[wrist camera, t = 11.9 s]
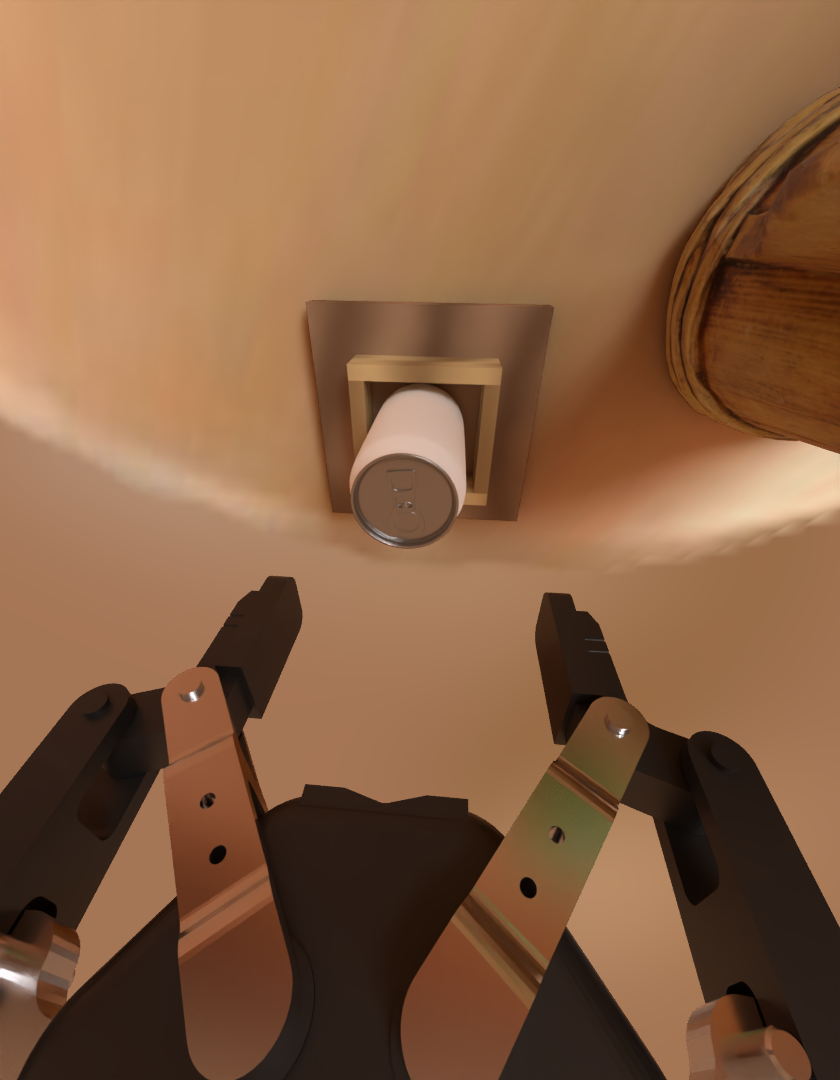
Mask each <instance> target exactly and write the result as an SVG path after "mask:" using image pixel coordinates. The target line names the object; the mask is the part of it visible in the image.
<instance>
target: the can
mask: <svg viewBox="0 0 840 1080" xmlns="http://www.w3.org/2000/svg"><path fill="white" fill-rule="evenodd" d="M350 494H351V507H352V511H353V514H354V516H355V518H356V520H357V522H358V523H359V525H360V526H361V527H362V528H363V530H364V531H365V532H366V533H367V534H369V535H370V536H371V537H373V538H374V539H376V540H377V541H379V542H381V543H383V544H386V545H389V546H392V547H396V548H404V549H412V548H420V547H424V546H427V545H430V544H432V543H434V542H436V541H438V540H439V539H441V538H442V537H443V536H444V535H445V534H446V533H447V532H448V531H449V530H450V529H451V527H452V526H453V524H454V522H455V520H456V517H457V516H458V514H459V513H460V511H461V509H462V506H463V503H464V500H465V495H466V461H465V437H464V423H463V417H462V414H461V411H460V409H459V407H458V405H457V403H456V402H455V400H454V399H453V398H452V397H451V396H450V395H449V394H448V393H447V392H445V391H444V390H442V389H440V388H438V387H436V386H433V385H430V384H423V383H417V384H410V385H406V386H404V387H401V388H399V389H398V390H396V391H395V392H393V393H392V394H391V395H390V396H389V397H388V398H387V399H386V401H385V402H384V404H383V405H382V407H381V409H380V411H379V413H378V415H377V417H376V419H375V421H374V423H373V425H372V427H371V429H370V431H369V433H368V435H367V437H366V439H365V441H364V443H363V445H362V447H361V449H360V451H359V453H358V455H357V457H356V459H355V462H354V464H353V467H352V470H351V474H350Z"/></svg>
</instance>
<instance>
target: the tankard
mask: <svg viewBox="0 0 840 1080" xmlns="http://www.w3.org/2000/svg"><path fill="white" fill-rule="evenodd" d="M666 358H667V363H668V367H669V372H670V376H671V379H672V380H673V382H674V384H675V386H676V388H677V389H678V391H679V393H680V394H681V395H682V396H683V397H684V398H685V400H686V401H687V402H688V403H689V404H690V405H691V406H692V408H693V409H695V410H696V411H697V412H698V413H700V414H703V415H706V416H709V417H710V418H711V419H713V420H714V421H715V422H717V423H720V424H723V425H725V426H728V427H731V428H734V429H736V430H738V431H741V432H744V433H748V434H752V435H755V436H759V437H763V438H769V439H775V440H787V441H802V442H805V443H808V444H811V445H814V446H817V447H820V448H823V449H826V450H829V451H833V452H836V453H839V454H840V87H839V88H837V89H835V90H833V91H831V92H829V93H827V94H825V95H823V96H821V97H819V98H818V99H817V100H815V101H814V102H812V103H811V104H809V105H808V106H806V107H805V108H804V109H802V110H801V111H799V112H798V113H796V114H795V115H794V116H792V117H791V118H790V119H789V120H788V121H786V122H785V123H784V124H783V125H782V126H780V127H779V128H778V129H777V130H776V131H774V132H773V133H772V134H771V135H770V136H769V137H768V138H767V139H766V140H765V141H764V142H763V143H762V144H761V145H760V146H759V148H758V149H757V150H756V151H755V152H754V153H753V154H752V155H751V156H750V157H749V159H748V160H747V161H746V162H745V163H744V164H743V165H742V166H741V168H740V169H739V170H738V171H737V172H736V173H735V174H734V175H733V177H732V178H731V179H730V181H729V182H728V184H727V186H726V187H725V189H724V190H723V192H722V193H721V195H720V196H719V197H718V198H717V199H716V201H715V202H714V203H713V204H712V205H711V206H710V207H709V209H708V210H707V212H706V213H705V215H704V217H703V218H702V220H701V221H700V223H699V224H698V226H697V227H696V229H695V230H694V232H693V234H692V235H691V237H690V238H689V240H688V242H687V244H686V246H685V248H684V251H683V253H682V255H681V258H680V260H679V263H678V266H677V269H676V272H675V275H674V278H673V282H672V287H671V293H670V298H669V303H668V309H667V325H666Z"/></svg>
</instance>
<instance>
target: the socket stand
mask: <svg viewBox="0 0 840 1080" xmlns="http://www.w3.org/2000/svg"><path fill="white" fill-rule="evenodd" d="M306 308H307V316H308V324H309V332H310V339H311V347H312V355H313V363H314V371H315V378H316V386H317V394H318V402H319V410H320V417H321V425H322V433H323V441H324V449H325V456H326V464H327V472H328V480H329V488H330V495H331V503H332V511H333V512H338V513H353V511H352V507H351V494H350V474H351V470H352V467H353V464H354V462H355V459H356V457H357V455H358V453H359V451H360V449H361V447H362V445H363V443H364V441H365V439H366V437H367V435H368V433H369V431H370V429H371V427H372V425H373V423H374V421H375V419H376V417H377V415H378V413H379V411H380V409H381V407H382V405H383V404H384V402H385V401H386V399H387V398H388V397H389V396H390V395H391V394H392V393H393V392H395V391H396V390H398V389H399V388H401V387H404V386H406V385H410V384H417V383H423V384H430V385H433V386H436V387H438V388H440V389H442V390H444V391H445V392H447V393H448V394H449V395H450V396H451V397H452V398H453V399H454V400H455V402H456V403H457V405H458V407H459V409H460V411H461V414H462V417H463V423H464V437H465V461H466V495H465V500H464V503H463V506H462V509H461V511H460V513H459V514H458V516H457V517H456V518H461V519H481V520H502V521H517V516H518V510H519V505H520V499H521V493H522V487H523V482H524V476H525V470H526V464H527V458H528V453H529V447H530V441H531V435H532V430H533V424H534V418H535V412H536V407H537V401H538V395H539V389H540V384H541V378H542V372H543V366H544V361H545V355H546V349H547V343H548V338H549V332H550V326H551V320H552V314H553V309H554V307H552V306H550V305H518V304H470V303H422V302H373V301H325V300H312V301H308V302H306Z"/></svg>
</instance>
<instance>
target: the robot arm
mask: <svg viewBox="0 0 840 1080" xmlns="http://www.w3.org/2000/svg"><path fill="white" fill-rule="evenodd" d="M301 623H302V608H301V604H300V599H299V595H298V591H297V586H296V582H295V580H294V578H293V577H282V576H269V577H268V578H267V579H266V581H265V582H264V584H263V586H262V587H261V589H260V590H259V591H251V592H250V593H248V594H247V595H246V596H245V597H243V598H242V599H241V600H240V601H239V602H238V603H237V605H236V606H235V608H234V609H233V611H232V612H231V614H230V617H228V619H227V620H226V622H225V623H224V627H222V628H221V630H220V631H219V632H218V634H217V636H216V637H215V639H214V640H213V642H212V643H211V645H210V647H209V648H208V650H207V651H206V653H205V654H204V656H203V658H202V659H201V661H200V662H199V664H198V665H197V667H196V668H192V669H189V670H186V671H184V672H182V673H180V674H179V675H177V676H176V677H175V678H173V679H172V680H171V681H170V682H169V683H168V684H167V686H166V687H165V688H161V689H155V690H151V691H146V692H141V693H136V694H132V695H131V694H130V693H129V691H128V690H127V688H126V687H125V686H123V685H121V684H105V685H102V686H99V687H96V688H94V689H92V690H90V691H88V692H86V693H85V694H83V695H82V696H80V697H79V698H78V699H77V700H76V701H75V702H74V703H73V704H72V705H71V706H70V707H69V708H68V710H67V711H66V712H65V713H64V715H63V716H62V717H61V719H60V720H59V721H58V722H57V723H56V725H55V726H54V727H53V728H52V730H51V731H50V732H49V734H48V735H47V736H46V737H45V738H44V740H43V741H42V742H41V744H40V745H39V746H38V747H37V748H36V750H35V751H34V752H33V753H32V755H31V756H30V757H29V759H28V760H27V761H26V762H25V763H24V765H23V766H22V767H21V769H20V770H19V771H18V772H17V774H16V775H15V776H14V778H13V779H12V780H11V781H10V782H9V784H8V785H7V786H6V787H5V789H4V790H3V791H2V792H1V794H0V1080H667V1079H666V1078H665V1076H664V1074H663V1072H662V1071H661V1069H660V1068H659V1066H658V1064H657V1063H656V1061H655V1060H654V1058H653V1057H652V1055H651V1053H650V1052H649V1050H648V1049H647V1048H646V1046H645V1045H644V1043H643V1042H642V1040H641V1039H640V1037H639V1035H638V1034H637V1032H636V1031H635V1029H634V1028H633V1026H632V1025H631V1023H630V1022H629V1020H628V1019H627V1017H626V1016H625V1014H624V1013H623V1011H622V1010H621V1008H620V1007H619V1006H618V1004H617V1002H616V1001H615V999H614V998H613V996H612V995H611V993H610V992H609V990H608V989H607V987H606V986H605V984H604V983H603V981H602V980H601V978H600V977H599V975H598V974H597V972H596V971H595V969H594V968H593V966H592V965H591V963H590V962H589V960H588V959H587V957H586V956H585V954H584V953H583V951H582V950H581V948H580V947H579V945H578V944H577V942H576V941H575V939H574V938H573V936H572V934H571V933H570V931H569V930H568V929H567V927H566V925H567V922H568V920H569V918H570V916H571V914H572V912H573V909H574V907H575V905H576V903H577V900H578V898H579V896H580V894H581V892H582V889H583V887H584V885H585V883H586V881H587V878H588V876H589V874H590V872H591V869H592V867H593V865H594V863H595V860H596V859H597V856H598V854H599V852H600V849H601V848H602V845H603V843H604V841H605V839H606V837H607V834H608V832H609V830H610V828H611V826H612V823H613V821H614V819H615V816H616V814H617V811H618V805H619V803H622V804H624V805H627V806H629V807H631V808H634V809H636V810H638V811H640V812H643V813H645V814H647V815H650V816H652V817H653V819H654V823H655V827H656V830H657V833H658V837H659V840H660V844H661V848H662V851H663V855H664V858H665V862H666V865H667V869H668V872H669V876H670V879H671V883H672V886H673V890H674V894H675V897H676V901H677V904H678V908H679V911H680V915H681V918H682V922H683V925H684V929H685V932H686V936H687V940H688V943H689V947H690V950H691V954H692V957H693V961H694V964H695V968H696V971H697V975H698V979H699V982H700V985H701V989H702V992H703V996H704V1000H705V1003H706V1004H704V1005H702V1006H700V1007H698V1008H696V1009H695V1010H694V1011H693V1012H692V1014H691V1016H690V1018H689V1020H688V1023H687V1030H686V1042H687V1049H688V1055H689V1065H690V1075H689V1080H840V927H839V925H838V924H837V922H836V920H835V918H834V916H833V914H832V912H831V910H830V908H829V906H828V904H827V902H826V900H825V898H824V896H823V894H822V892H821V891H820V889H819V886H818V885H817V883H816V881H815V879H814V877H813V875H812V873H811V871H810V869H809V867H808V865H807V863H806V861H805V859H804V857H803V855H802V854H801V852H800V850H799V848H798V846H797V844H796V842H795V840H794V838H793V836H792V834H791V832H790V830H789V828H788V826H787V824H786V822H785V820H784V818H783V816H782V815H781V813H780V811H779V809H778V807H777V805H776V803H775V801H774V799H773V797H772V795H771V793H770V791H769V789H768V787H767V785H766V784H765V781H764V779H763V778H762V775H761V774H760V772H759V770H758V768H757V766H756V764H755V762H754V761H753V759H752V758H751V757H750V755H749V754H748V753H747V752H746V751H745V750H744V749H743V748H742V747H741V746H740V745H739V744H737V743H735V742H734V741H733V740H731V739H729V738H728V737H726V736H724V735H721V734H719V733H715V732H711V731H701V732H697V733H695V734H694V735H692V736H691V738H690V739H687V738H685V737H682V736H679V735H676V734H674V733H671V732H668V731H665V730H663V729H660V728H658V727H655V726H653V725H651V724H649V723H648V722H647V721H646V720H645V718H644V717H643V715H642V714H641V713H640V712H639V711H638V710H637V709H636V708H635V707H634V706H632V705H631V704H629V703H628V701H627V699H626V697H625V694H624V691H623V689H622V686H621V683H620V680H619V678H618V675H617V673H616V670H615V667H614V664H613V661H612V659H611V656H610V654H609V653H608V651H609V650H608V648H607V645H606V642H604V637H603V634H602V631H601V629H600V627H599V624H598V623H597V622H596V621H595V620H594V619H593V617H592V616H591V615H590V614H589V613H588V612H585V611H576V609H575V605H574V602H573V599H572V596H571V595H570V594H564V593H544V595H543V599H542V603H541V607H540V612H539V616H538V620H537V624H536V631H535V642H536V649H537V655H538V660H539V665H540V671H541V676H542V681H543V686H544V692H545V697H546V703H547V708H548V713H549V719H550V724H551V730H552V735H553V740H554V744H559V745H566V746H565V747H564V749H563V751H562V752H561V754H560V755H559V757H558V758H557V760H556V761H553V762H552V764H551V765H550V766H549V768H548V769H547V771H546V773H545V774H544V776H543V777H542V779H541V780H540V782H539V784H538V785H537V787H536V789H535V790H534V792H533V793H532V795H531V796H530V798H529V800H528V801H527V803H526V804H525V806H524V808H523V809H522V811H521V812H520V814H519V816H518V817H517V819H516V820H515V822H514V823H513V825H512V827H511V828H510V830H509V832H508V833H507V835H506V836H505V837H504V835H503V834H501V833H500V832H499V831H498V830H497V829H496V828H495V827H494V826H493V825H491V824H490V823H489V822H487V821H486V820H484V819H482V818H481V817H479V816H477V815H475V814H473V813H470V812H468V799H460V798H449V797H439V796H438V797H437V796H428V795H427V796H422V797H417V798H412V799H406V800H401V801H396V802H391V803H381V802H378V801H376V800H373V799H370V798H368V797H366V796H363V795H361V794H358V793H356V792H354V791H351V790H349V789H346V788H341V787H331V786H330V787H329V786H320V785H308V784H306V785H305V787H304V791H303V794H302V797H299V798H295V799H292V800H289V801H286V802H284V803H282V804H280V805H278V806H276V807H274V808H273V809H271V810H269V811H268V808H267V805H266V802H265V799H264V797H263V794H262V791H261V788H260V786H259V782H258V779H257V775H256V772H255V768H254V765H253V762H252V758H251V755H250V751H249V748H248V745H247V741H246V738H245V734H244V731H243V727H244V725H245V723H246V721H247V719H248V718H259V719H261V718H262V716H263V714H264V712H265V709H266V707H267V704H268V702H269V700H270V698H271V695H272V693H273V691H274V689H275V686H276V684H277V682H278V679H279V677H280V675H281V672H282V670H283V668H284V665H285V663H286V661H287V658H288V656H289V654H290V651H291V649H292V647H293V644H294V642H295V640H296V638H297V635H298V633H299V631H300V628H301ZM162 768H164V770H163V780H164V789H165V797H166V806H167V815H168V823H169V832H170V840H171V849H172V858H173V867H174V875H175V885H176V893H177V896H176V897H175V898H174V899H173V900H172V901H171V902H170V903H169V904H168V905H167V906H166V907H165V908H164V909H162V910H161V911H160V912H159V913H158V914H157V915H156V916H155V917H154V918H153V919H152V920H151V921H150V922H149V923H148V924H147V925H146V926H145V927H144V928H143V929H141V931H140V932H138V933H137V934H136V935H135V936H134V937H133V938H132V939H131V940H130V941H129V942H128V943H127V944H126V945H125V946H124V947H123V948H122V949H121V950H119V951H118V952H117V953H116V954H115V955H114V956H113V957H112V958H111V959H110V960H109V961H108V962H107V963H106V964H105V965H104V966H103V967H102V968H101V969H100V970H99V971H97V972H96V973H95V974H94V975H93V976H92V977H91V978H90V979H89V980H88V981H87V982H86V983H85V984H84V985H83V986H82V987H81V988H80V989H79V990H78V991H77V992H76V993H75V994H74V995H73V996H72V997H71V998H70V999H69V1000H68V1001H67V1000H66V999H67V992H68V989H69V987H70V986H71V984H72V982H73V979H74V976H75V968H76V965H77V962H78V958H79V954H80V939H79V936H78V934H77V932H76V929H77V927H78V925H79V923H80V921H81V919H82V918H83V916H84V914H85V912H86V910H87V908H88V906H89V904H90V902H91V900H92V898H93V897H94V894H95V893H96V891H97V889H98V887H99V885H100V883H101V881H102V879H103V878H104V875H105V874H106V872H107V870H108V868H109V866H110V864H111V862H112V860H113V859H114V857H115V855H116V853H117V851H118V849H119V847H120V845H121V843H122V841H123V840H124V838H125V836H126V834H127V832H128V830H129V828H130V826H131V824H132V822H133V820H134V819H135V817H136V815H137V813H138V811H139V809H140V807H141V805H142V803H143V801H144V799H145V798H146V796H147V794H148V792H149V790H150V788H151V786H152V784H153V782H154V781H155V778H156V777H157V775H158V773H159V771H160V769H162Z"/></svg>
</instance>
